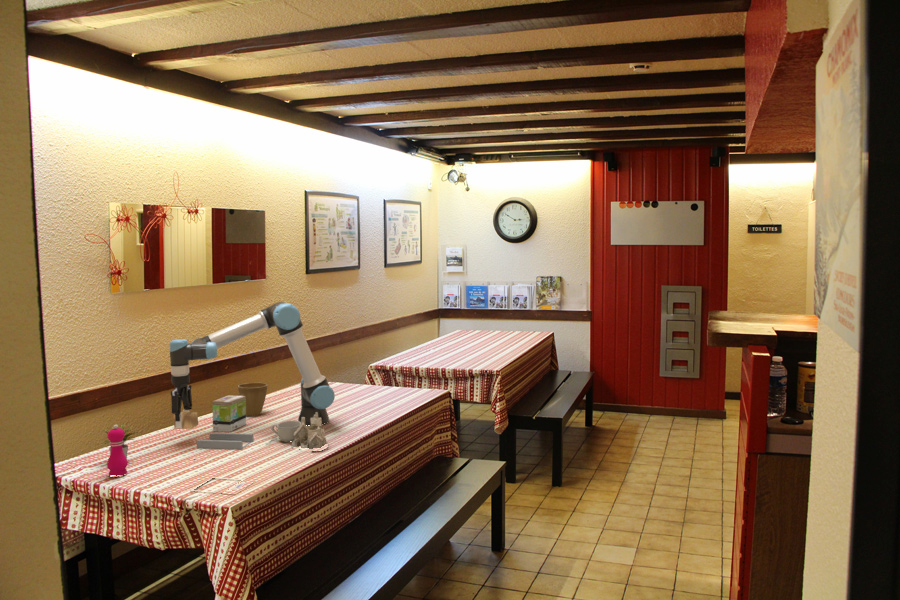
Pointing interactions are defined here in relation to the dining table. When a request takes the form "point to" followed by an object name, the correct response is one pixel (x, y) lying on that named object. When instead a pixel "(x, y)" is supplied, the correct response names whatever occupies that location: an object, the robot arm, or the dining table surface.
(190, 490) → the clear plastic bag
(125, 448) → the house plant
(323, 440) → the ceramic cottage
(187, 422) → the wood block
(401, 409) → the dining table surface
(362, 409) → the dining table surface
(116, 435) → the pepper mill
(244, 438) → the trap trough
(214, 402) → the tea box
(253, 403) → the plant pot
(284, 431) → the teacup
